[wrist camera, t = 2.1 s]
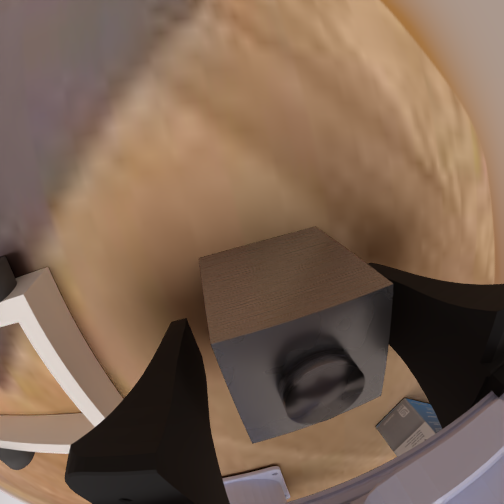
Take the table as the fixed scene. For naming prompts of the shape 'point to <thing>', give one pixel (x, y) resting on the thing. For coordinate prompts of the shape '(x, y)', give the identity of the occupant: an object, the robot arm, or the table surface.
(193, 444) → the robot arm
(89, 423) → the chassis
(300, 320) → the engine block
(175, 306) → the table surface
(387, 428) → the label tape box
